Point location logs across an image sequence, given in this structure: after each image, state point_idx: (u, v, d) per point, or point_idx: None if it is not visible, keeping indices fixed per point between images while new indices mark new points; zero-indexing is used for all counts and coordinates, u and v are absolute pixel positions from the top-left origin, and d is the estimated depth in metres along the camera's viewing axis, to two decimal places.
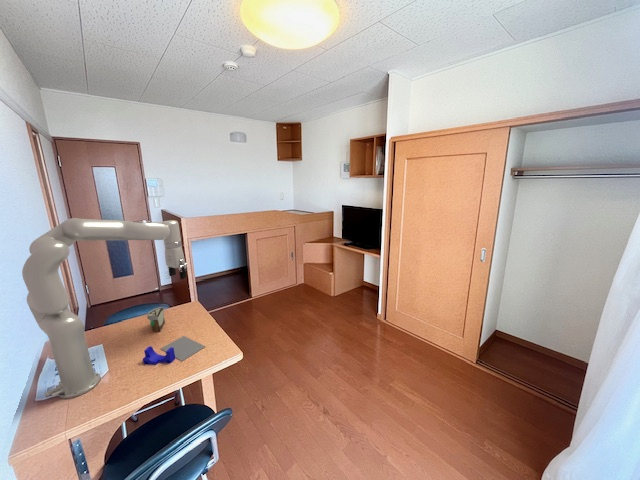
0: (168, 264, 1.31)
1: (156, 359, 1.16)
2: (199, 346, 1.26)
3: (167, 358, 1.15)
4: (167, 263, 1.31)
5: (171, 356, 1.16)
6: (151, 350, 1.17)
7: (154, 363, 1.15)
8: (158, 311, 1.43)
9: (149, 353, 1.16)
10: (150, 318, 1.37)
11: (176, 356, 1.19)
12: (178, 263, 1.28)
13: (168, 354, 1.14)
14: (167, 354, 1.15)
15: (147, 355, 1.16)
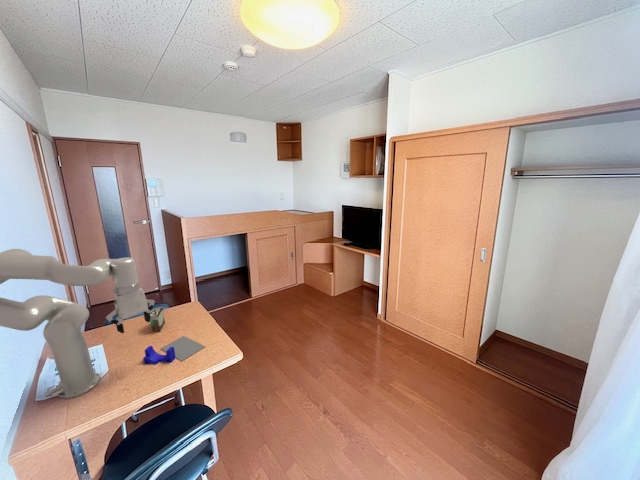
0: (129, 314, 1.03)
1: (156, 358, 1.16)
2: (199, 346, 1.26)
3: (168, 358, 1.15)
4: (127, 314, 1.02)
5: (171, 355, 1.16)
6: (151, 350, 1.18)
7: (155, 363, 1.15)
8: (158, 311, 1.43)
9: (149, 352, 1.16)
10: None
11: (176, 356, 1.19)
12: None
13: (168, 353, 1.15)
14: (167, 353, 1.15)
15: (147, 354, 1.16)
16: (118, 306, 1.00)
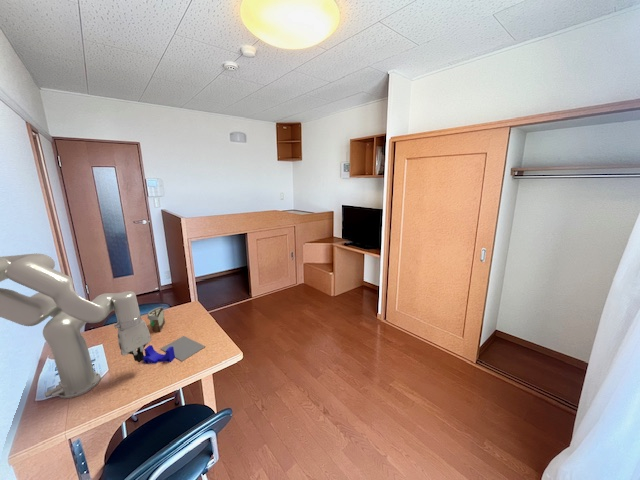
0: (133, 347, 1.04)
1: (156, 358, 1.17)
2: (199, 346, 1.26)
3: (167, 357, 1.16)
4: (130, 347, 1.03)
5: (171, 355, 1.16)
6: (151, 349, 1.18)
7: (154, 362, 1.15)
8: (158, 311, 1.43)
9: (149, 352, 1.17)
10: (150, 318, 1.37)
11: (176, 356, 1.19)
12: None
13: (167, 353, 1.15)
14: (167, 353, 1.15)
15: (147, 354, 1.17)
16: (121, 341, 1.01)
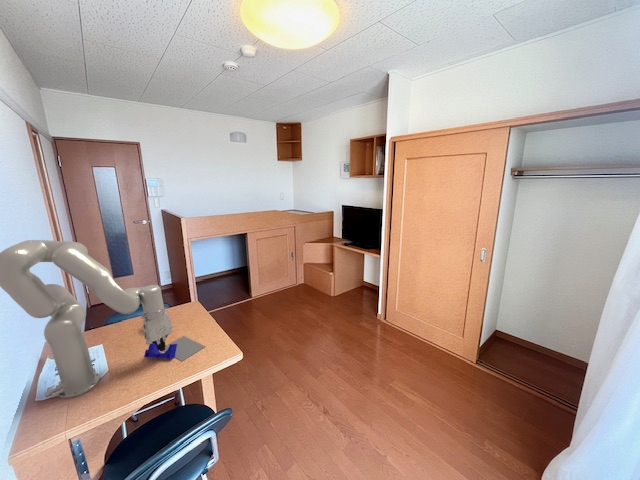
0: (157, 337, 1.12)
1: (157, 353, 1.18)
2: (199, 346, 1.26)
3: (168, 353, 1.17)
4: (154, 337, 1.11)
5: (172, 351, 1.18)
6: (155, 345, 1.21)
7: (154, 356, 1.16)
8: None
9: (153, 346, 1.19)
10: None
11: (176, 356, 1.19)
12: None
13: (170, 347, 1.18)
14: (170, 347, 1.18)
15: (150, 348, 1.19)
16: (147, 330, 1.09)
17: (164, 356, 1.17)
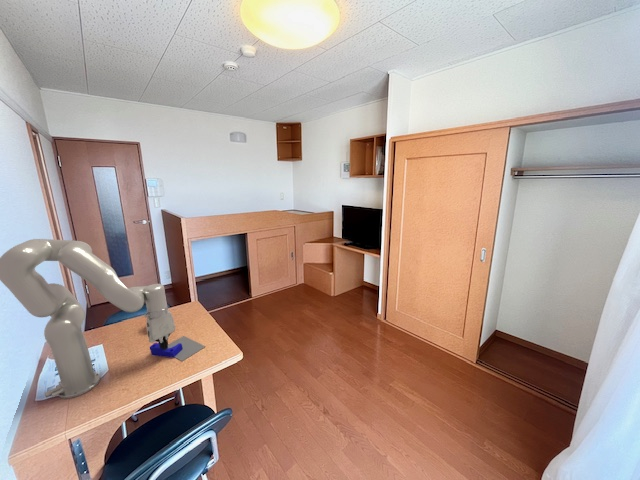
0: (160, 335, 1.13)
1: None
2: (199, 346, 1.26)
3: (173, 348, 1.20)
4: (158, 335, 1.12)
5: (177, 349, 1.21)
6: None
7: None
8: None
9: None
10: None
11: (176, 356, 1.19)
12: None
13: (178, 345, 1.22)
14: (177, 345, 1.22)
15: None
16: (150, 329, 1.10)
17: (168, 350, 1.19)
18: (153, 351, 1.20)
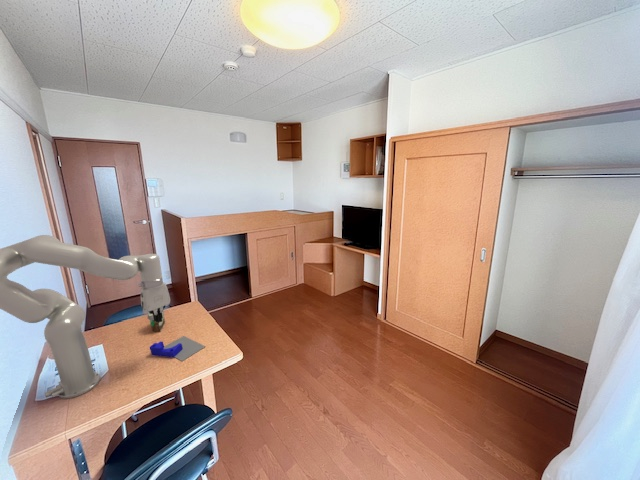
0: (154, 307, 1.10)
1: None
2: (199, 346, 1.26)
3: (173, 348, 1.20)
4: (152, 306, 1.09)
5: (177, 349, 1.21)
6: None
7: (160, 347, 1.19)
8: None
9: (160, 345, 1.24)
10: (150, 318, 1.37)
11: (176, 356, 1.19)
12: None
13: (178, 345, 1.22)
14: (177, 345, 1.22)
15: None
16: (144, 299, 1.07)
17: (168, 350, 1.19)
18: (153, 351, 1.20)
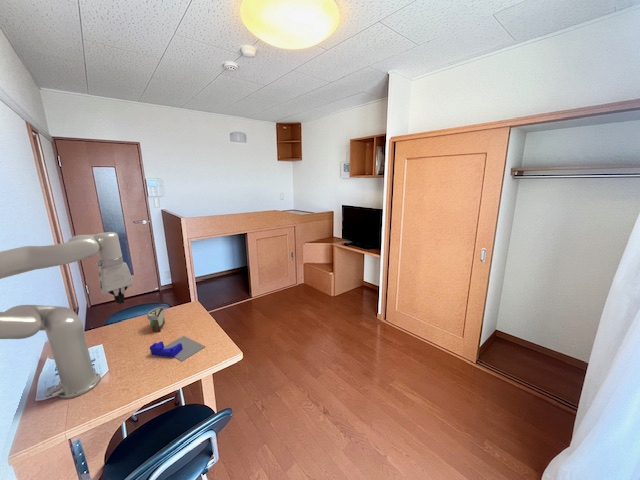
0: (114, 287, 1.06)
1: None
2: (199, 346, 1.26)
3: (173, 348, 1.20)
4: (111, 287, 1.05)
5: (177, 349, 1.21)
6: None
7: (160, 347, 1.19)
8: (158, 311, 1.43)
9: (160, 345, 1.24)
10: (150, 318, 1.37)
11: (176, 356, 1.19)
12: None
13: (178, 345, 1.22)
14: (177, 345, 1.22)
15: None
16: (102, 278, 1.03)
17: (168, 350, 1.19)
18: (153, 351, 1.20)
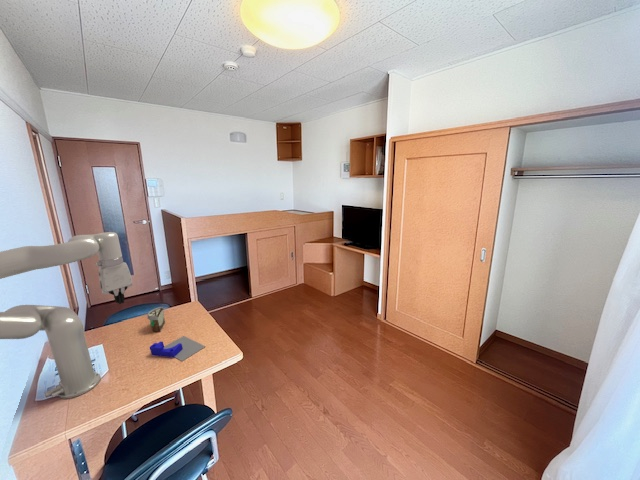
0: (113, 287, 1.06)
1: None
2: (199, 346, 1.26)
3: (173, 348, 1.20)
4: (111, 287, 1.05)
5: (177, 349, 1.21)
6: None
7: (160, 347, 1.19)
8: (158, 311, 1.43)
9: (160, 345, 1.24)
10: (150, 318, 1.37)
11: (176, 356, 1.19)
12: None
13: (178, 345, 1.22)
14: (177, 345, 1.22)
15: None
16: (102, 278, 1.03)
17: (168, 350, 1.19)
18: (153, 351, 1.20)
